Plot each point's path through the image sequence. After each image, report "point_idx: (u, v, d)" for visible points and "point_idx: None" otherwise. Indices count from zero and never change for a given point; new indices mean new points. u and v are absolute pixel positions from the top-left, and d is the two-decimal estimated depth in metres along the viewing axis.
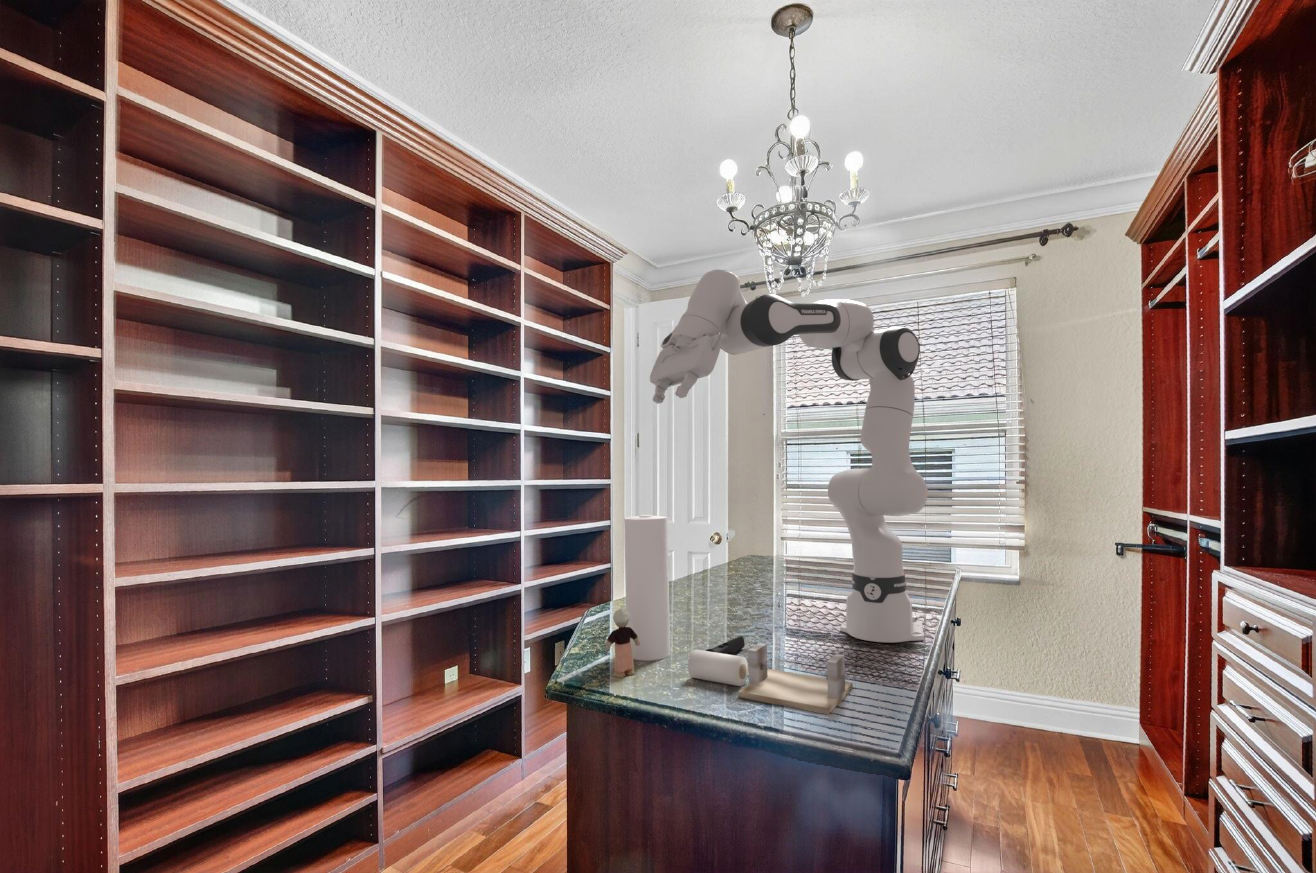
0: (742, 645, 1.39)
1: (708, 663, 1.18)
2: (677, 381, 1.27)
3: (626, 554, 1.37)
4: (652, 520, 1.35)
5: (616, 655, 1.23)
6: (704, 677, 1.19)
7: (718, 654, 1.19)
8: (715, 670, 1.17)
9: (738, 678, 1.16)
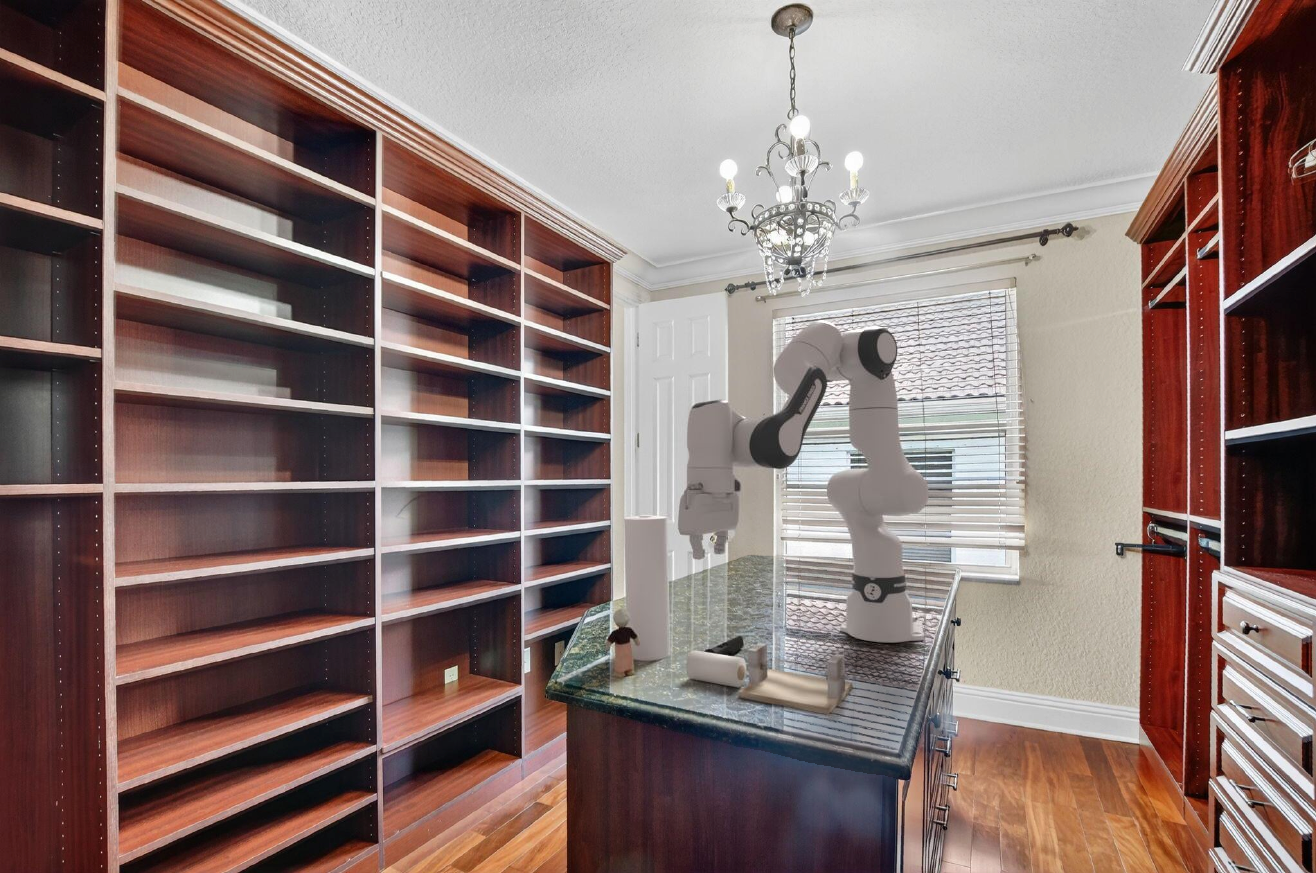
0: (741, 645, 1.39)
1: (706, 668, 1.18)
2: None
3: (626, 554, 1.37)
4: (652, 520, 1.35)
5: (616, 655, 1.23)
6: (703, 680, 1.19)
7: (715, 657, 1.18)
8: (713, 675, 1.17)
9: (737, 681, 1.15)
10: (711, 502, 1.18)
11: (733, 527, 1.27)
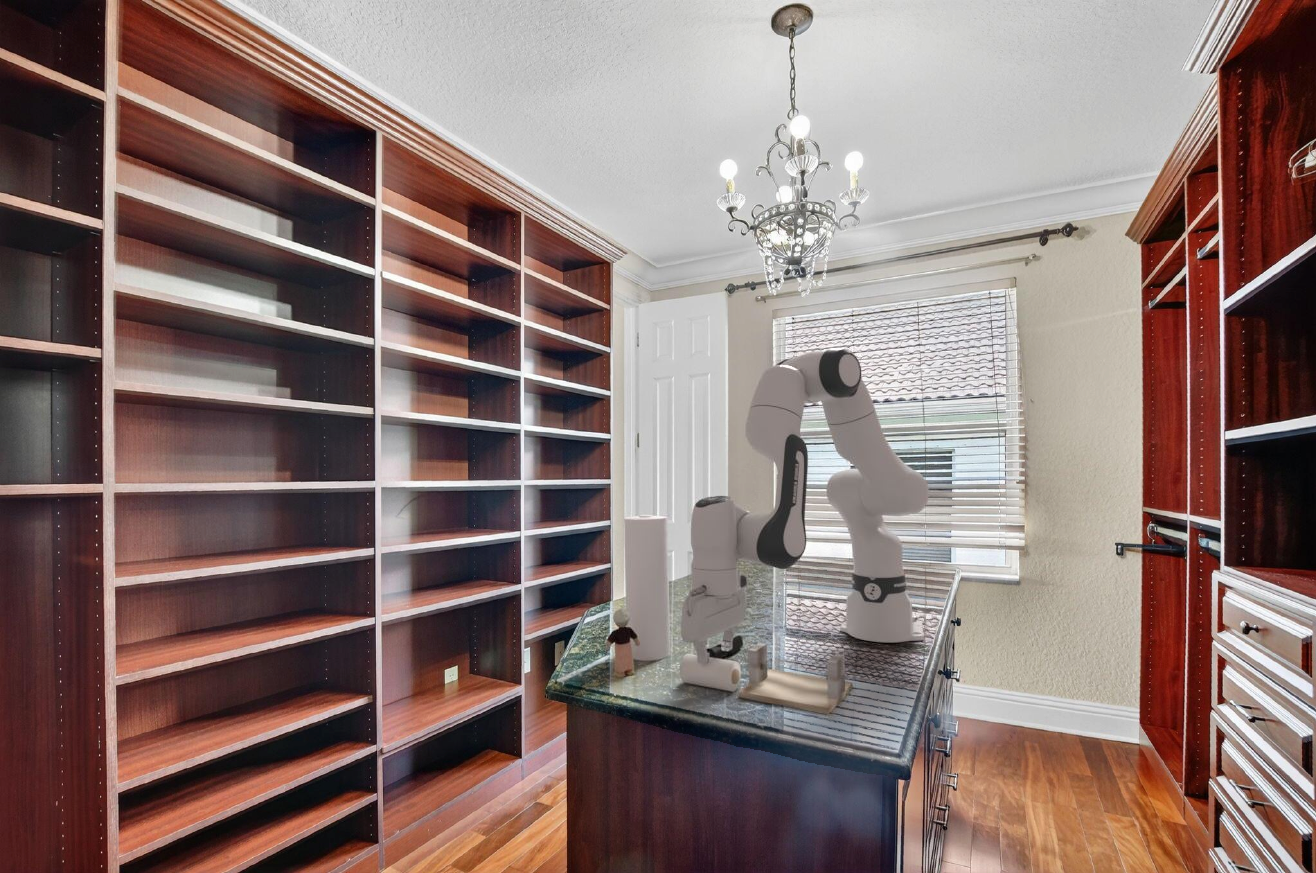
0: (740, 644, 1.39)
1: (701, 684, 1.16)
2: None
3: (626, 554, 1.37)
4: (652, 520, 1.35)
5: (616, 655, 1.23)
6: None
7: (705, 673, 1.15)
8: (711, 687, 1.16)
9: (735, 685, 1.15)
10: (715, 604, 1.17)
11: (740, 622, 1.26)
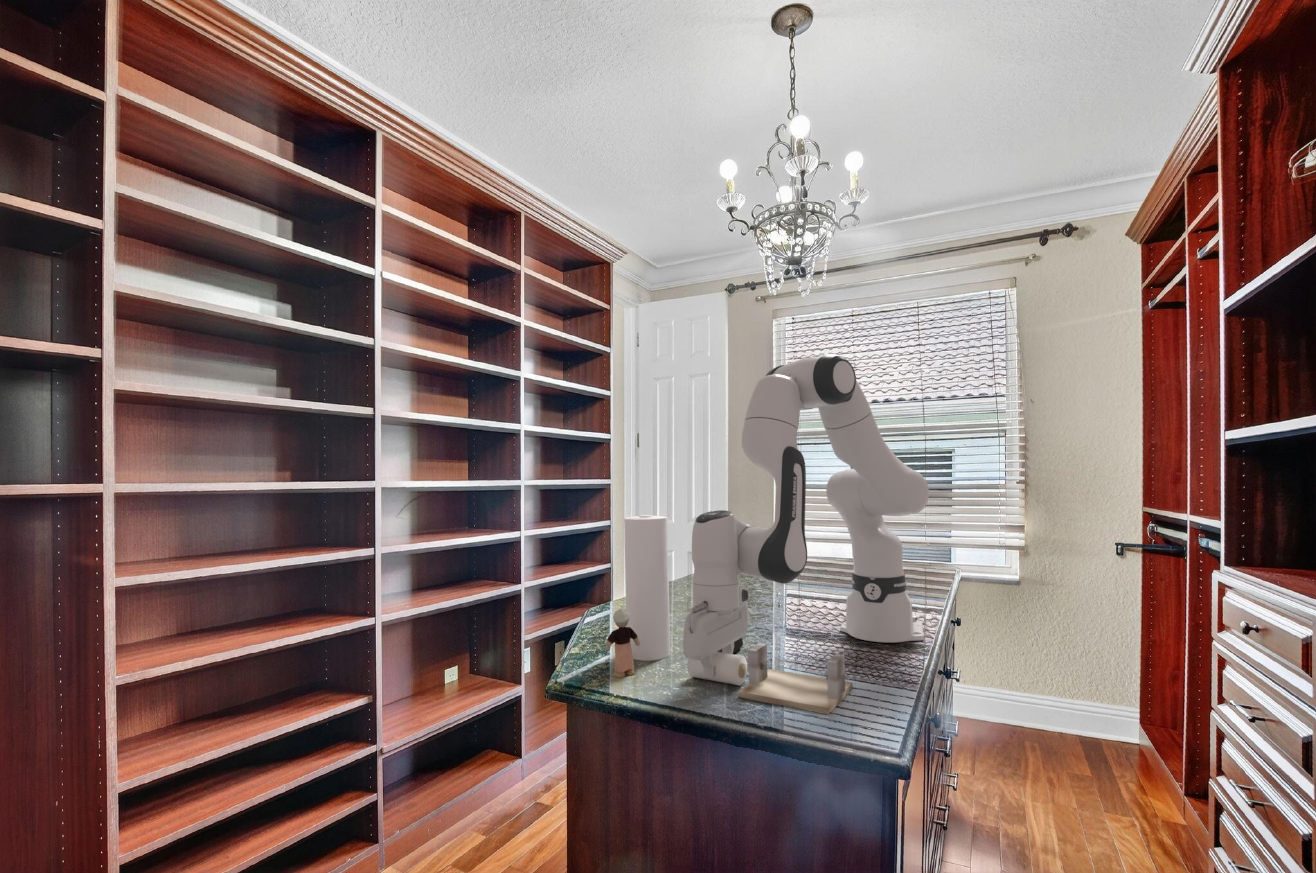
0: (741, 644, 1.39)
1: None
2: None
3: (626, 554, 1.37)
4: (652, 520, 1.35)
5: (616, 655, 1.23)
6: None
7: (714, 658, 1.18)
8: (715, 676, 1.17)
9: (739, 680, 1.16)
10: (717, 620, 1.17)
11: (742, 635, 1.26)
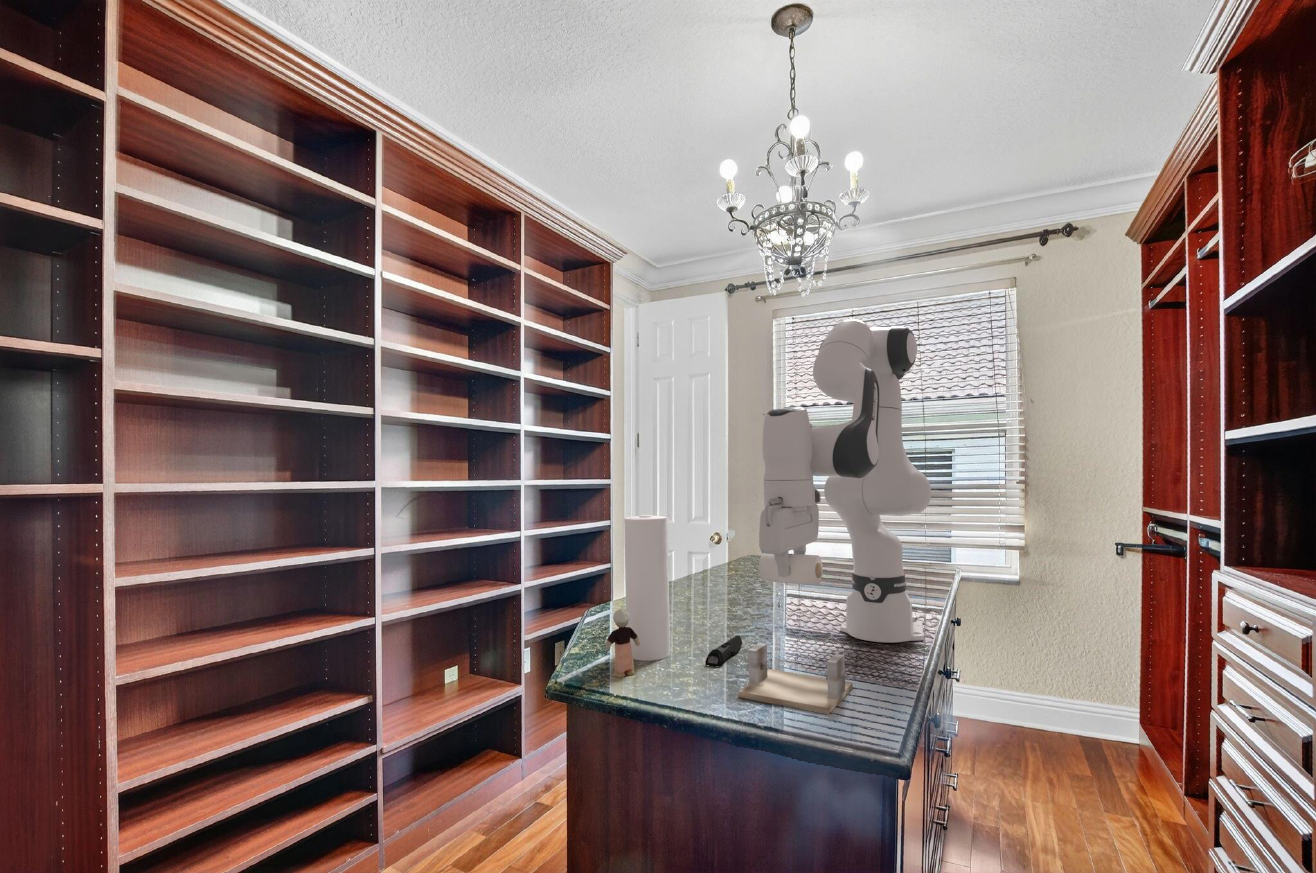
0: (740, 644, 1.40)
1: None
2: None
3: (626, 554, 1.37)
4: (652, 520, 1.35)
5: (616, 655, 1.23)
6: (778, 581, 1.14)
7: (788, 558, 1.12)
8: (790, 576, 1.11)
9: (816, 579, 1.10)
10: (792, 516, 1.11)
11: (813, 540, 1.19)
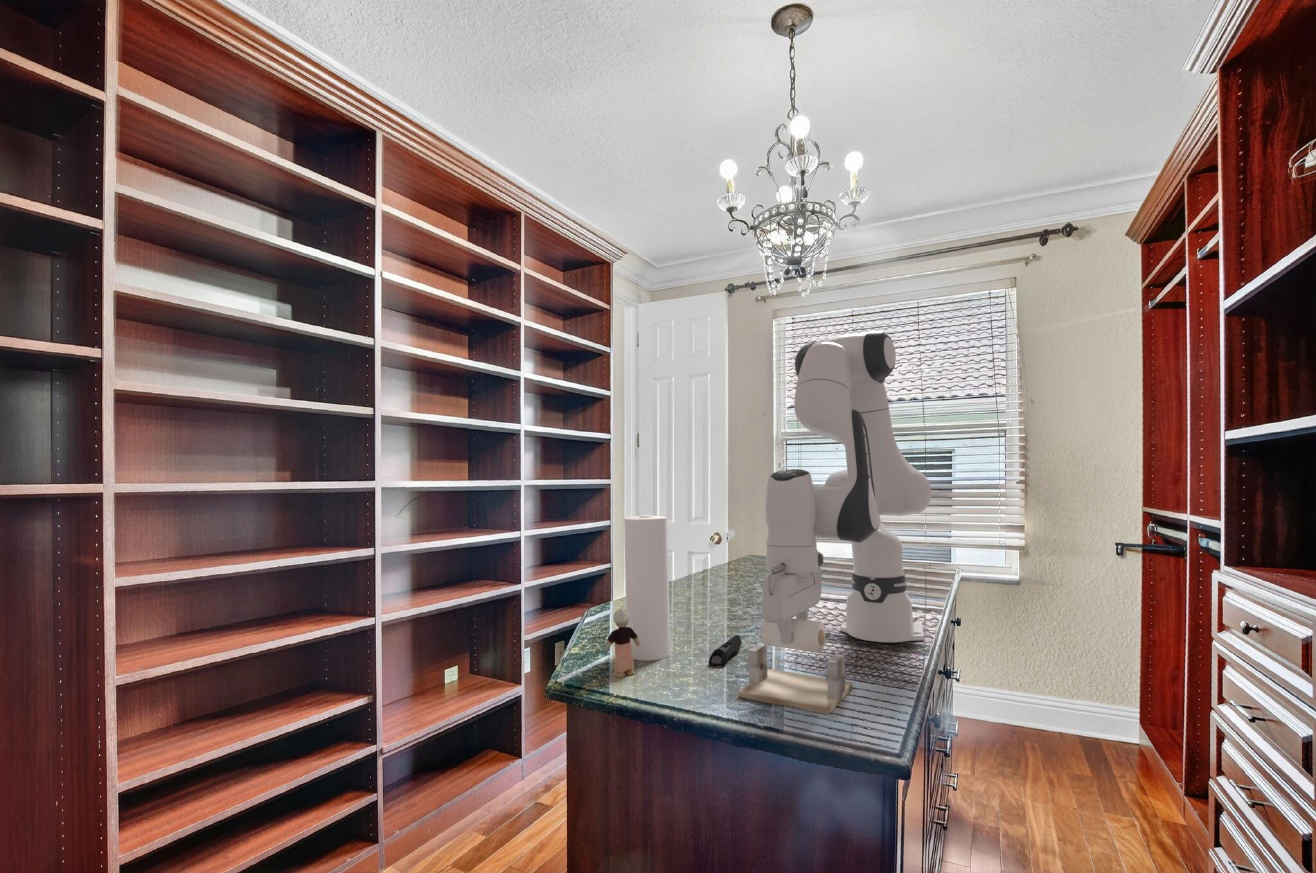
0: (740, 643, 1.40)
1: None
2: None
3: (626, 554, 1.37)
4: (652, 520, 1.35)
5: (616, 655, 1.23)
6: None
7: (791, 624, 1.12)
8: (792, 643, 1.11)
9: (818, 647, 1.09)
10: (795, 583, 1.10)
11: (816, 603, 1.19)
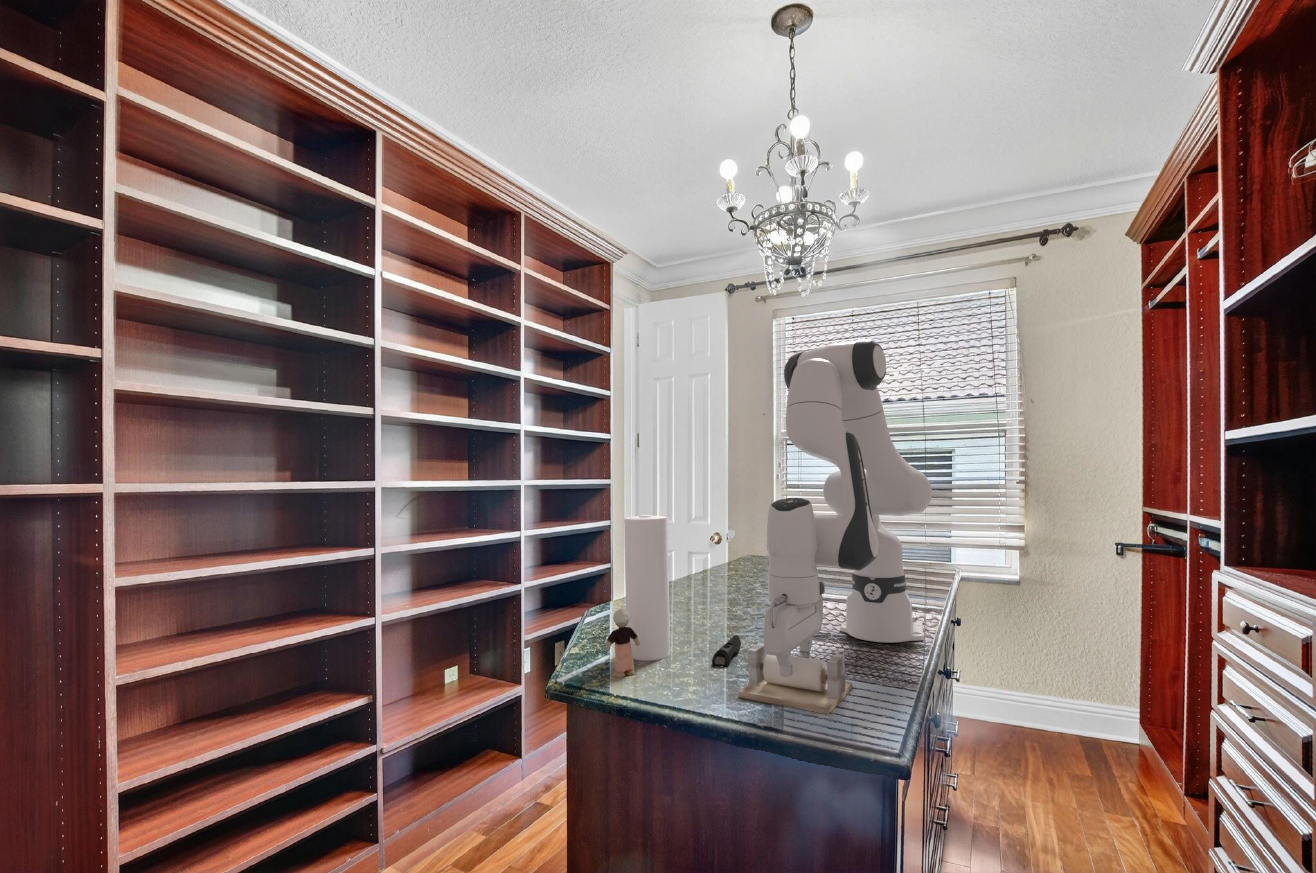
0: (740, 643, 1.40)
1: None
2: None
3: (626, 554, 1.37)
4: (652, 520, 1.35)
5: (616, 655, 1.23)
6: None
7: (793, 662, 1.11)
8: (795, 682, 1.10)
9: (821, 686, 1.09)
10: (797, 614, 1.10)
11: (818, 631, 1.19)
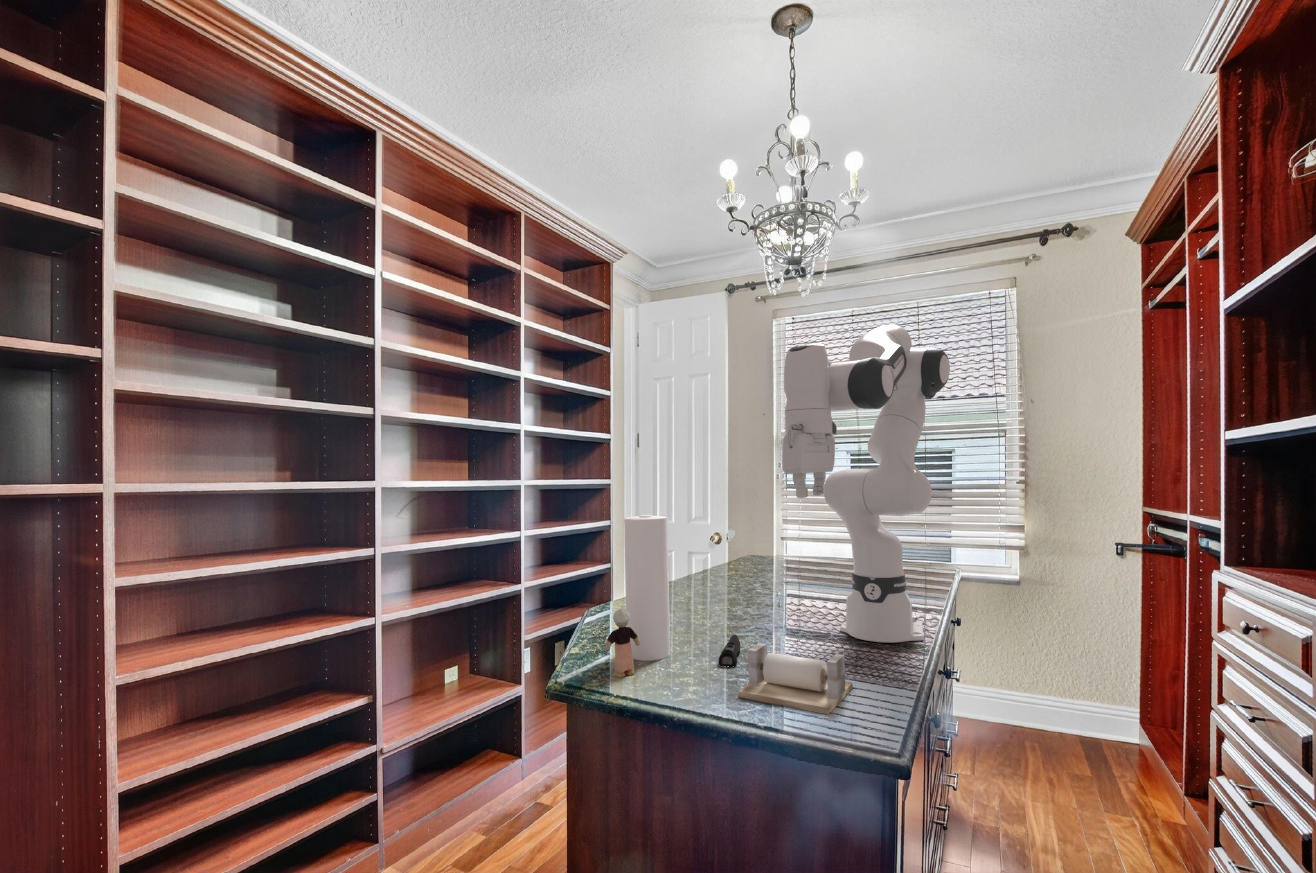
0: (739, 643, 1.41)
1: (785, 675, 1.11)
2: None
3: (626, 554, 1.37)
4: (652, 520, 1.35)
5: (616, 655, 1.23)
6: (783, 685, 1.13)
7: (793, 663, 1.11)
8: (795, 682, 1.10)
9: (821, 686, 1.09)
10: (812, 442, 1.20)
11: (830, 470, 1.29)
